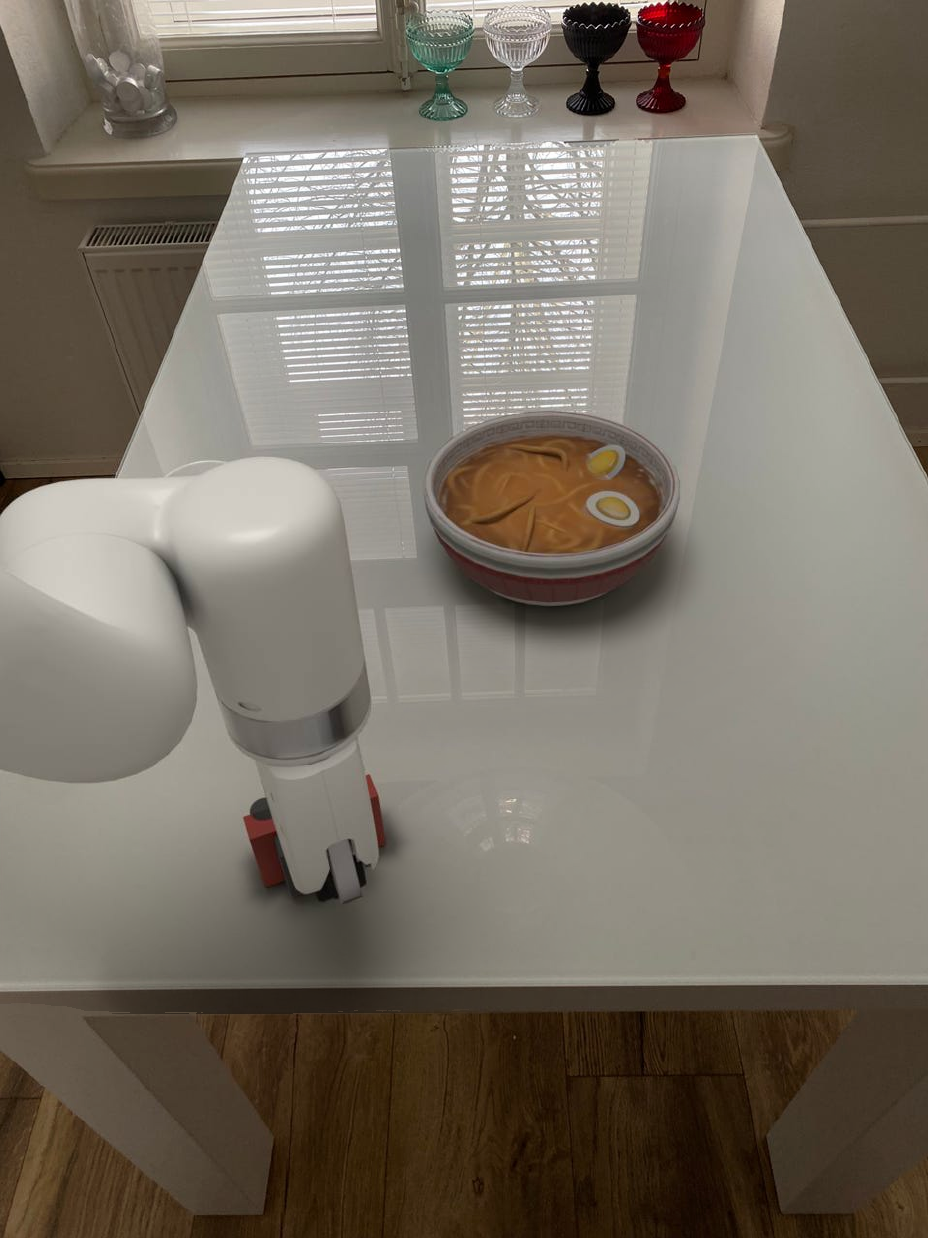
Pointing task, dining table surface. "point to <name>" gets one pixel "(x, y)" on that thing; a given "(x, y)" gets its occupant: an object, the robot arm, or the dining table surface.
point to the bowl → (551, 504)
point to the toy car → (269, 844)
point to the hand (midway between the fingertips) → (339, 883)
